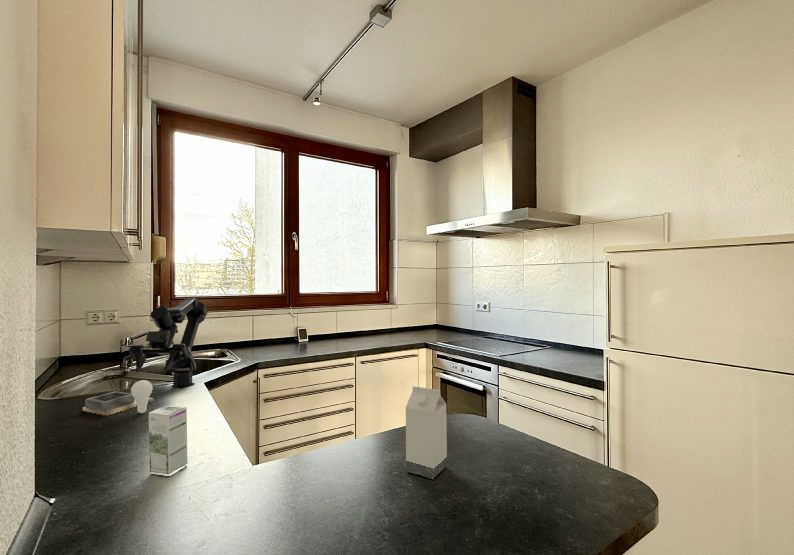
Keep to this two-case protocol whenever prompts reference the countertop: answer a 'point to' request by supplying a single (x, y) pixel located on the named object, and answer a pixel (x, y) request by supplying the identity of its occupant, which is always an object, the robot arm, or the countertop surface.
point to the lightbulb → (141, 394)
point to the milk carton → (426, 427)
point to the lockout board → (110, 403)
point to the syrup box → (168, 439)
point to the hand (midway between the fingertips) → (151, 371)
